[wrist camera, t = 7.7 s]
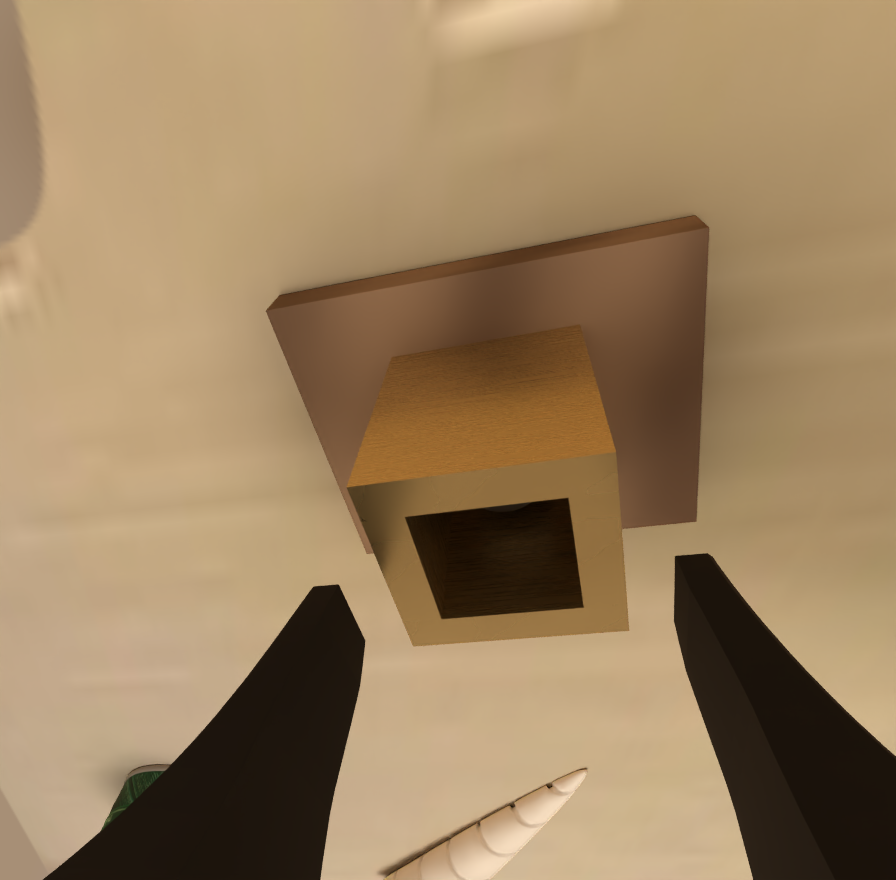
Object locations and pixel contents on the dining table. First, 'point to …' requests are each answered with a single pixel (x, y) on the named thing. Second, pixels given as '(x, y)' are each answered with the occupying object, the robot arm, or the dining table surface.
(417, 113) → the dining table surface
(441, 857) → the unicorn horn
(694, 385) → the post stand
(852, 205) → the dining table surface
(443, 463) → the brass collar
